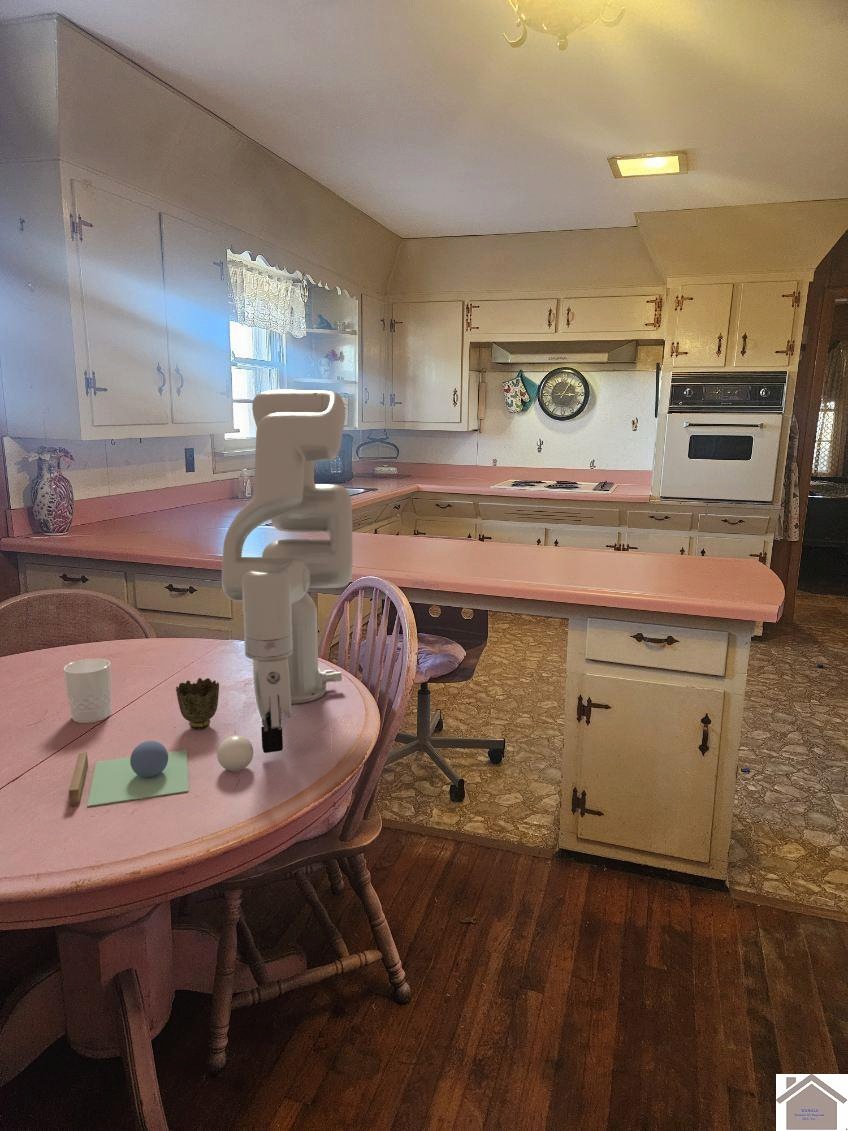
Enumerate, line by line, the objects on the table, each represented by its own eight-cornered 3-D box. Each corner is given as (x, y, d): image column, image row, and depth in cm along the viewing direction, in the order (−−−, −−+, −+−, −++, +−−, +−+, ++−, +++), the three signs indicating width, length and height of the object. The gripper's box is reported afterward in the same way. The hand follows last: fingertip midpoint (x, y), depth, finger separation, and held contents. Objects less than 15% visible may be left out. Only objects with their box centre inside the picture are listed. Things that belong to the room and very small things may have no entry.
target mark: (186, 750, 122) (186, 749, 122) (188, 791, 109) (188, 790, 109) (96, 762, 118) (96, 761, 118) (87, 807, 105) (87, 805, 105)
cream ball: (215, 731, 114) (209, 756, 117) (227, 757, 111) (221, 782, 113) (249, 725, 118) (242, 749, 120) (261, 750, 114) (254, 774, 117)
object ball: (135, 732, 114) (127, 765, 115) (134, 748, 109) (125, 782, 110) (171, 737, 117) (163, 769, 117) (172, 752, 111) (163, 786, 112)
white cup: (97, 726, 131) (92, 674, 129) (58, 722, 132) (53, 671, 130) (123, 709, 138) (119, 660, 136) (86, 705, 140) (82, 656, 138)
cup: (182, 739, 126) (179, 696, 125) (175, 722, 133) (172, 681, 131) (225, 730, 130) (223, 689, 128) (216, 715, 136) (214, 675, 134)
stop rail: (88, 766, 116) (86, 752, 116) (79, 804, 105) (78, 789, 105) (80, 767, 116) (78, 753, 115) (70, 806, 105) (68, 790, 104)
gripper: (299, 657, 110) (302, 767, 114) (285, 628, 124) (288, 728, 128) (249, 662, 108) (254, 774, 112) (240, 632, 121) (245, 733, 125)
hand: (272, 749), depth 120 cm, fingers closed
